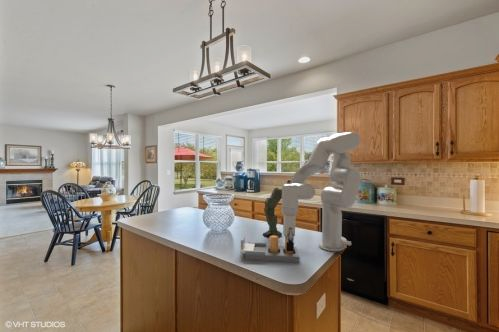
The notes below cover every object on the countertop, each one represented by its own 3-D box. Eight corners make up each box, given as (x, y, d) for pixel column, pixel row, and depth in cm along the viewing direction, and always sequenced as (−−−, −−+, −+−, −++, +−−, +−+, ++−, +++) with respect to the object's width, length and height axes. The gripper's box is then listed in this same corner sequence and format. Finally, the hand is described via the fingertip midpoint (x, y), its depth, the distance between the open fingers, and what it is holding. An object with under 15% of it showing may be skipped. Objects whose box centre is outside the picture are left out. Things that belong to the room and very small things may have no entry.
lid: (254, 245, 116) (254, 235, 116) (253, 253, 106) (253, 242, 106) (242, 245, 116) (242, 235, 116) (240, 252, 107) (240, 241, 107)
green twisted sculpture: (259, 237, 135) (272, 186, 136) (256, 233, 142) (268, 185, 143) (281, 240, 138) (293, 191, 140) (276, 237, 145) (288, 190, 147)
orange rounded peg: (284, 254, 112) (284, 235, 112) (293, 255, 111) (293, 236, 111) (285, 258, 108) (285, 238, 108) (293, 258, 107) (294, 239, 107)
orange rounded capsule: (278, 254, 112) (277, 235, 112) (278, 257, 108) (278, 238, 108) (269, 254, 112) (269, 235, 112) (270, 257, 108) (269, 238, 108)
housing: (296, 252, 115) (296, 244, 115) (299, 262, 103) (299, 253, 103) (247, 249, 117) (248, 242, 117) (245, 259, 105) (245, 251, 105)
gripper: (280, 206, 118) (280, 240, 118) (282, 214, 101) (282, 253, 101) (296, 207, 117) (295, 241, 118) (300, 215, 100) (299, 254, 100)
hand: (289, 247), depth 109 cm, fingers open, 9 cm apart
